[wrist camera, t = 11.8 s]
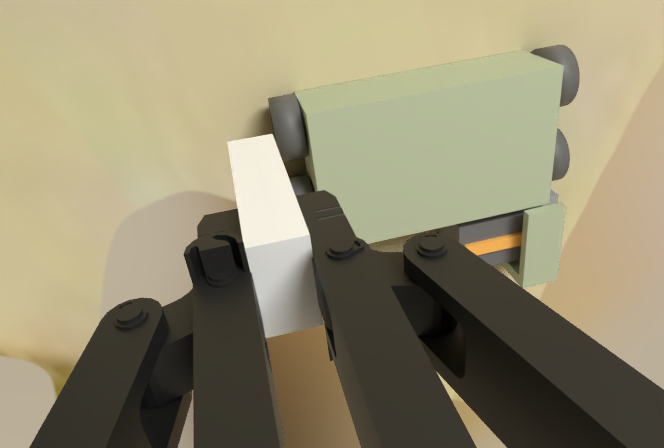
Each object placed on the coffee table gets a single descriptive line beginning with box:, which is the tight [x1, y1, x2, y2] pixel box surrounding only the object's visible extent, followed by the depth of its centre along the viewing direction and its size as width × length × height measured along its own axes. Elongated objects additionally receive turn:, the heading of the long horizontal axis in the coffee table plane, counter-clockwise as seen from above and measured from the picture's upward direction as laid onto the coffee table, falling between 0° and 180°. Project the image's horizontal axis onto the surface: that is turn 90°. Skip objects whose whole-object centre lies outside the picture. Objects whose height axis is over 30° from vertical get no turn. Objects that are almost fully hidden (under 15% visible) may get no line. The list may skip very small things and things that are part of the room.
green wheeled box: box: [268, 45, 579, 288], centre depth 45 cm, size 24×20×7 cm
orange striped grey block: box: [438, 206, 540, 266], centre depth 50 cm, size 8×5×5 cm, turn 97°
